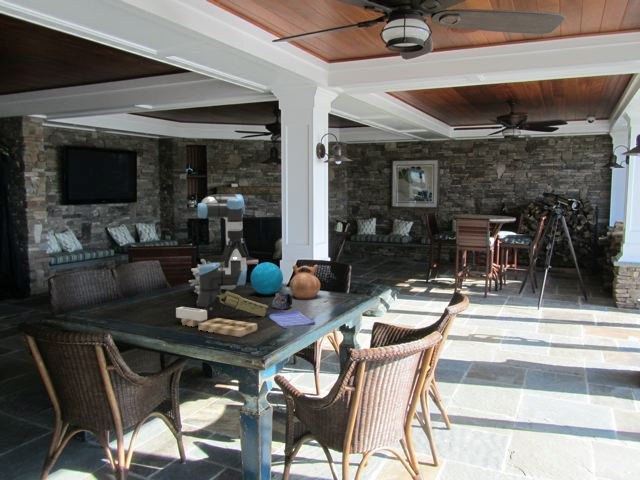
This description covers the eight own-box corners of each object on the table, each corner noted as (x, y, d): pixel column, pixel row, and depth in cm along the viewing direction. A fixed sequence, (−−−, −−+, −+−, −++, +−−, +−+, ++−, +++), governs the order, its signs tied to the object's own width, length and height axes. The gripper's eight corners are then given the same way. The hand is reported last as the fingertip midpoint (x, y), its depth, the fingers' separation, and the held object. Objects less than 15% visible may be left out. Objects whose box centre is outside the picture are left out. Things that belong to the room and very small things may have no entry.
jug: (322, 294, 327) (322, 262, 325) (317, 300, 309) (317, 266, 307) (293, 293, 330) (293, 262, 328) (286, 299, 313) (286, 266, 311)
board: (198, 330, 246) (198, 323, 246) (216, 323, 257) (216, 317, 257) (240, 336, 234) (240, 330, 234) (257, 330, 246) (257, 323, 245)
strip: (176, 322, 258) (176, 307, 258) (182, 320, 262) (181, 306, 261) (201, 326, 251) (201, 311, 250) (207, 324, 254) (206, 309, 254)
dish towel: (299, 315, 277) (299, 309, 277) (316, 326, 255) (316, 320, 255) (267, 318, 270) (267, 312, 270) (282, 329, 248) (282, 323, 248)
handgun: (200, 315, 267) (212, 285, 267) (257, 333, 275) (268, 303, 275) (200, 317, 263) (212, 286, 263) (258, 335, 271) (269, 305, 271)
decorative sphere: (258, 290, 341) (257, 259, 339) (287, 292, 335) (287, 260, 333) (245, 296, 321) (245, 264, 320) (276, 298, 316) (276, 265, 314)
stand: (182, 325, 255) (182, 318, 255) (190, 322, 261) (190, 316, 260) (192, 326, 252) (192, 320, 252) (201, 323, 257) (201, 317, 257)
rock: (291, 305, 285) (283, 288, 287) (274, 314, 287) (267, 296, 289) (298, 305, 295) (290, 289, 297) (282, 313, 297) (275, 297, 300)
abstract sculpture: (239, 259, 348) (196, 249, 333) (247, 279, 330) (202, 269, 315) (226, 288, 356) (183, 279, 341) (233, 308, 338) (188, 300, 323)
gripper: (226, 232, 252) (227, 276, 254) (255, 228, 274) (255, 269, 276) (213, 231, 255) (214, 275, 257) (242, 228, 277) (243, 268, 279)
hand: (235, 272), depth 267 cm, fingers open, 13 cm apart
